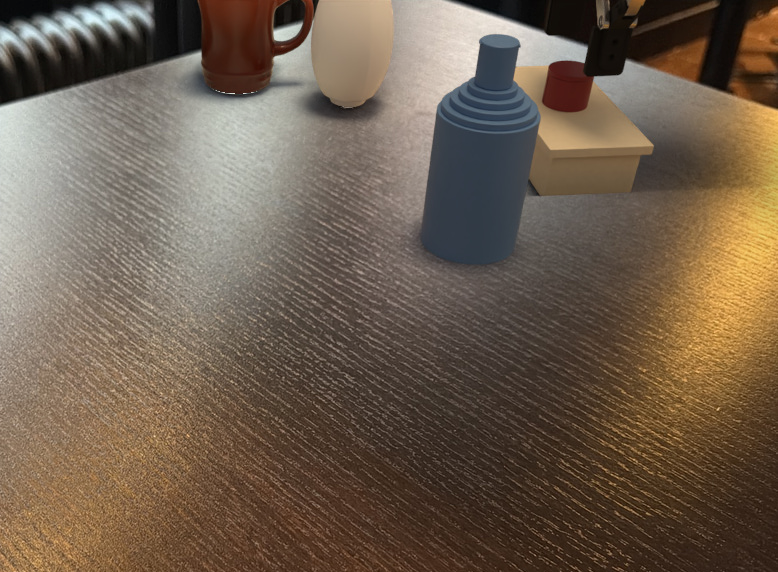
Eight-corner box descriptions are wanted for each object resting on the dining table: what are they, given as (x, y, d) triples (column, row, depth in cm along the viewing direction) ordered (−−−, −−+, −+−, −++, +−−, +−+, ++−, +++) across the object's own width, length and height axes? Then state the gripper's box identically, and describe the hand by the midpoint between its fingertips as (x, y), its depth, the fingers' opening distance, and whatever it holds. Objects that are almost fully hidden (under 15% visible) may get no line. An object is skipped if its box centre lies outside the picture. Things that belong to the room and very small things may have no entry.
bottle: (496, 233, 81) (535, 20, 70) (523, 281, 75) (570, 58, 65) (408, 237, 80) (435, 23, 70) (429, 285, 75) (461, 61, 64)
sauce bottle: (371, 126, 97) (388, -73, 85) (296, 112, 99) (304, -83, 88) (396, 97, 102) (416, -94, 91) (325, 84, 105) (336, -103, 93)
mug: (195, 102, 101) (192, -3, 95) (195, 69, 108) (193, -30, 101) (313, 101, 101) (318, -3, 95) (306, 68, 108) (311, -31, 102)
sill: (567, 114, 99) (577, 64, 96) (639, 200, 85) (654, 145, 82) (480, 117, 99) (488, 67, 95) (538, 204, 85) (550, 149, 82)
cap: (549, 113, 87) (556, 78, 85) (535, 95, 90) (541, 60, 88) (594, 111, 87) (602, 76, 85) (578, 93, 90) (585, 59, 88)
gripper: (540, -191, 82) (508, 22, 92) (622, -148, 68) (573, 95, 79) (630, -194, 82) (587, 18, 93) (728, -152, 69) (665, 90, 79)
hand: (581, 53), depth 86 cm, fingers open, 9 cm apart
